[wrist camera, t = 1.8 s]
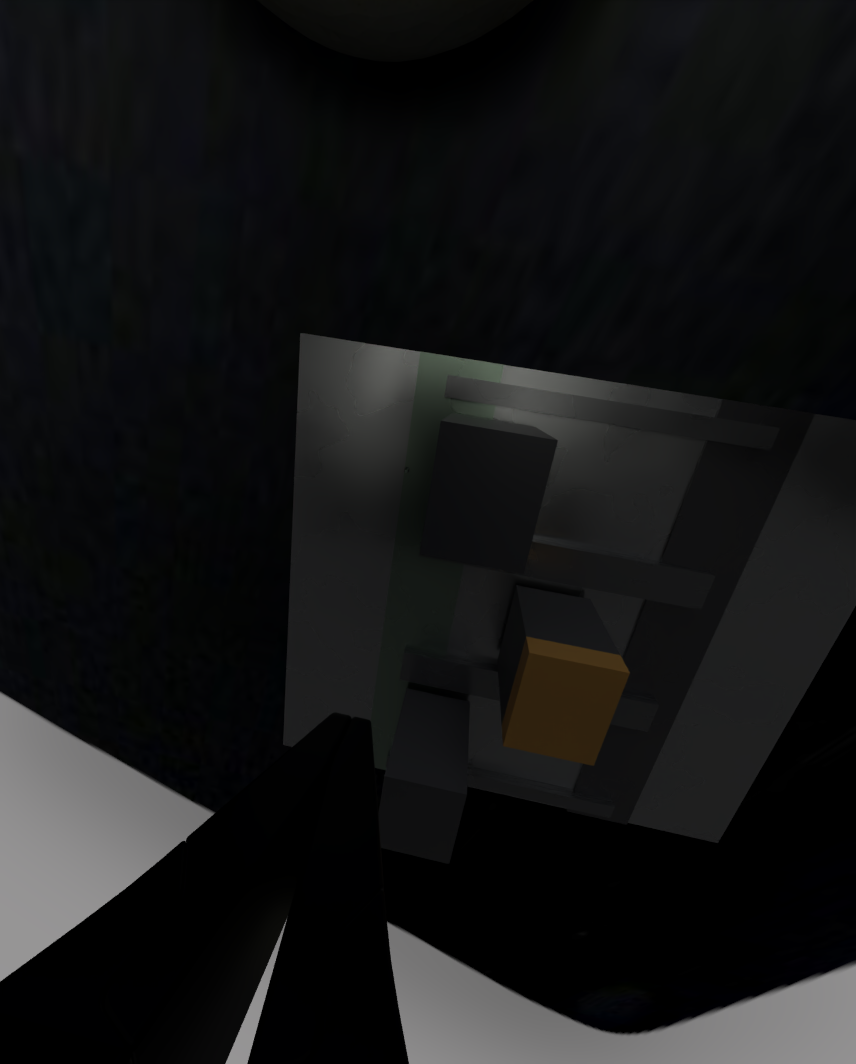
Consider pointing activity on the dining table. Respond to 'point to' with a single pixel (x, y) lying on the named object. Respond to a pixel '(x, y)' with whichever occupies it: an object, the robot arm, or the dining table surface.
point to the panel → (572, 571)
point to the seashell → (394, 24)
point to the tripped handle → (557, 676)
